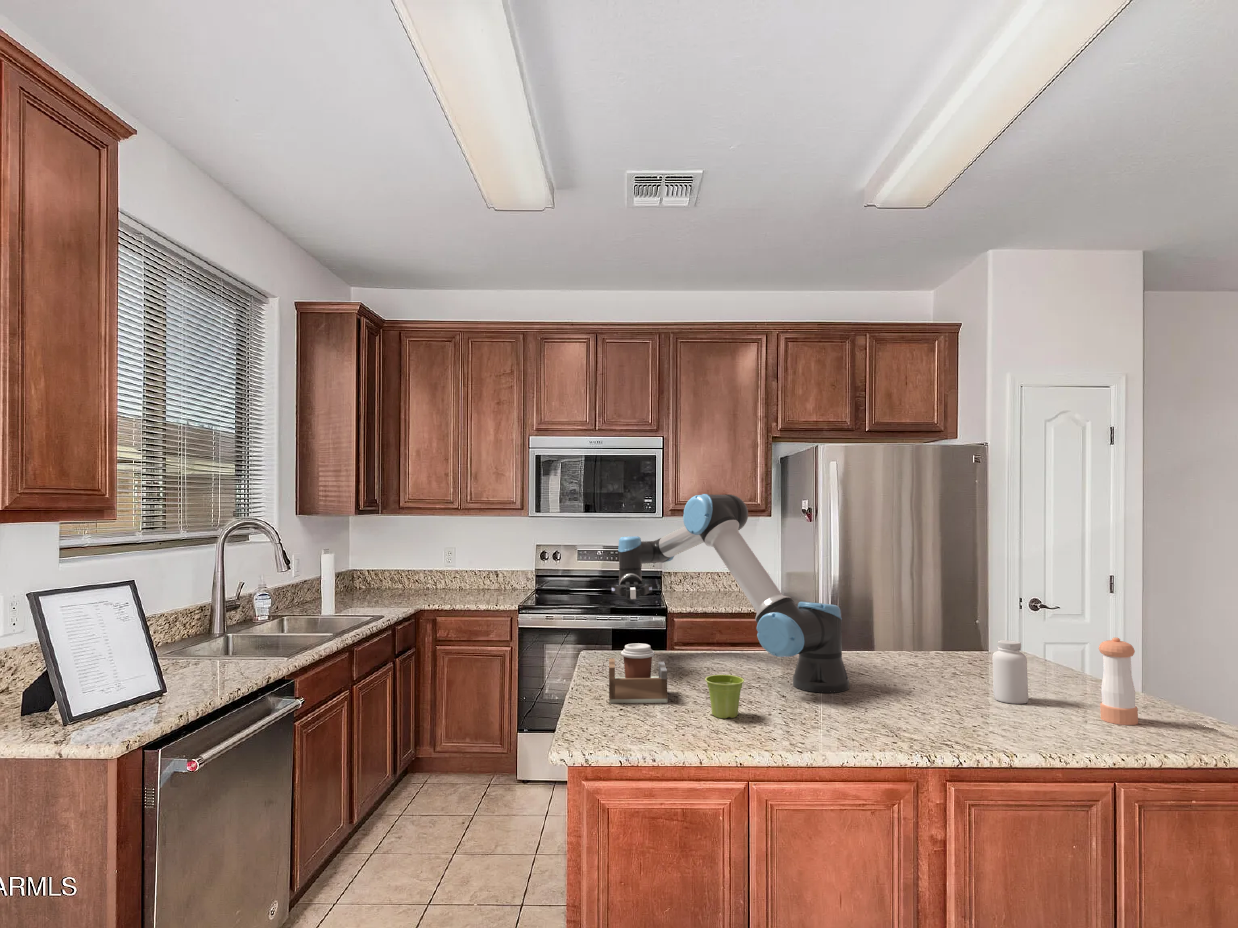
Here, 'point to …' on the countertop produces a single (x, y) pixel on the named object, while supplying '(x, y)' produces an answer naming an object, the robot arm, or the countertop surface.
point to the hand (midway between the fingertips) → (633, 594)
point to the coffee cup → (637, 660)
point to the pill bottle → (1010, 673)
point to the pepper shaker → (1118, 683)
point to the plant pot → (724, 694)
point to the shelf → (637, 687)
